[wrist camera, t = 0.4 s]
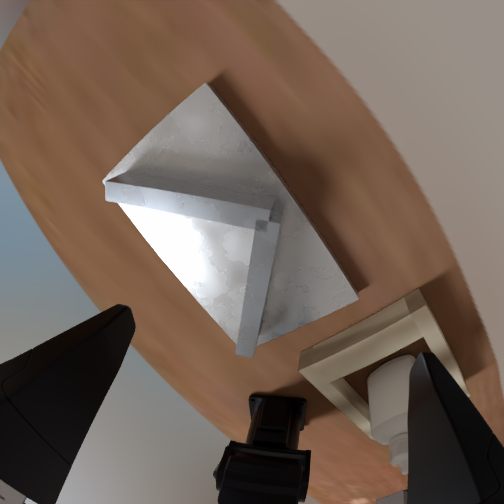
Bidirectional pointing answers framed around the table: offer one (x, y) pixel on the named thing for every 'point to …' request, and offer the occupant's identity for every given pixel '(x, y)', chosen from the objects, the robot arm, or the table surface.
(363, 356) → the beige square frame
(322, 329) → the table surface
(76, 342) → the robot arm
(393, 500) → the perfume bottle
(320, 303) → the silver tray
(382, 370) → the eye dropper bottle
